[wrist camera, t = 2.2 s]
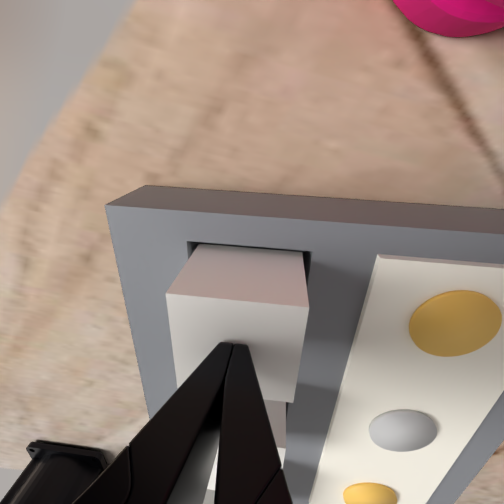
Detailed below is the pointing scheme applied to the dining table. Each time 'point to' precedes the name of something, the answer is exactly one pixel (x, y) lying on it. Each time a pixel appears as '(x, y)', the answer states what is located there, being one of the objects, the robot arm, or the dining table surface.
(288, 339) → the button
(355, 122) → the dining table surface
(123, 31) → the dining table surface
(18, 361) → the dining table surface
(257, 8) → the dining table surface
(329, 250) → the button panel
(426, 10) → the pepper mill
